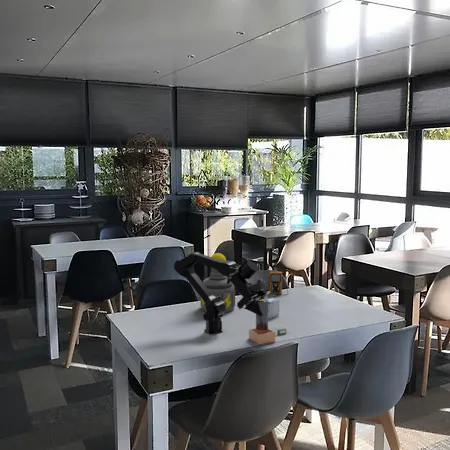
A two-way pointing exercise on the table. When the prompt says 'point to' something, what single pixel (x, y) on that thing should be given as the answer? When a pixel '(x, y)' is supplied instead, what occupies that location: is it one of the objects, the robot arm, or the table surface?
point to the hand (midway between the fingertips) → (264, 314)
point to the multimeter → (275, 282)
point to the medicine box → (273, 308)
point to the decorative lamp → (220, 287)
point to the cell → (262, 320)
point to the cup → (261, 335)
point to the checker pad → (280, 331)
